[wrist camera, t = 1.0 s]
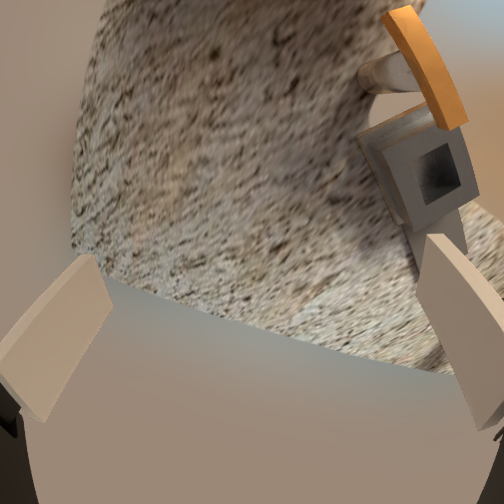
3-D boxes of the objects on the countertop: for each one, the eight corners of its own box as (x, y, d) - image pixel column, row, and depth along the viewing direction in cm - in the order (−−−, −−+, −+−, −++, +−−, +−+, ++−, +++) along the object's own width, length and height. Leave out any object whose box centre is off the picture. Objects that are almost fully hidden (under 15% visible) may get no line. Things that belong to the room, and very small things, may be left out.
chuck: (354, 136, 29) (372, 143, 24) (425, 101, 26) (454, 103, 21) (392, 219, 33) (413, 242, 28) (456, 184, 30) (484, 201, 25)
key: (337, 49, 25) (378, 14, 13) (364, 37, 24) (418, 2, 12) (378, 121, 28) (441, 135, 16) (404, 108, 27) (475, 117, 15)
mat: (397, 214, 33) (400, 217, 32) (448, 186, 31) (452, 189, 30) (419, 276, 37) (421, 279, 36) (464, 249, 34) (468, 253, 33)
